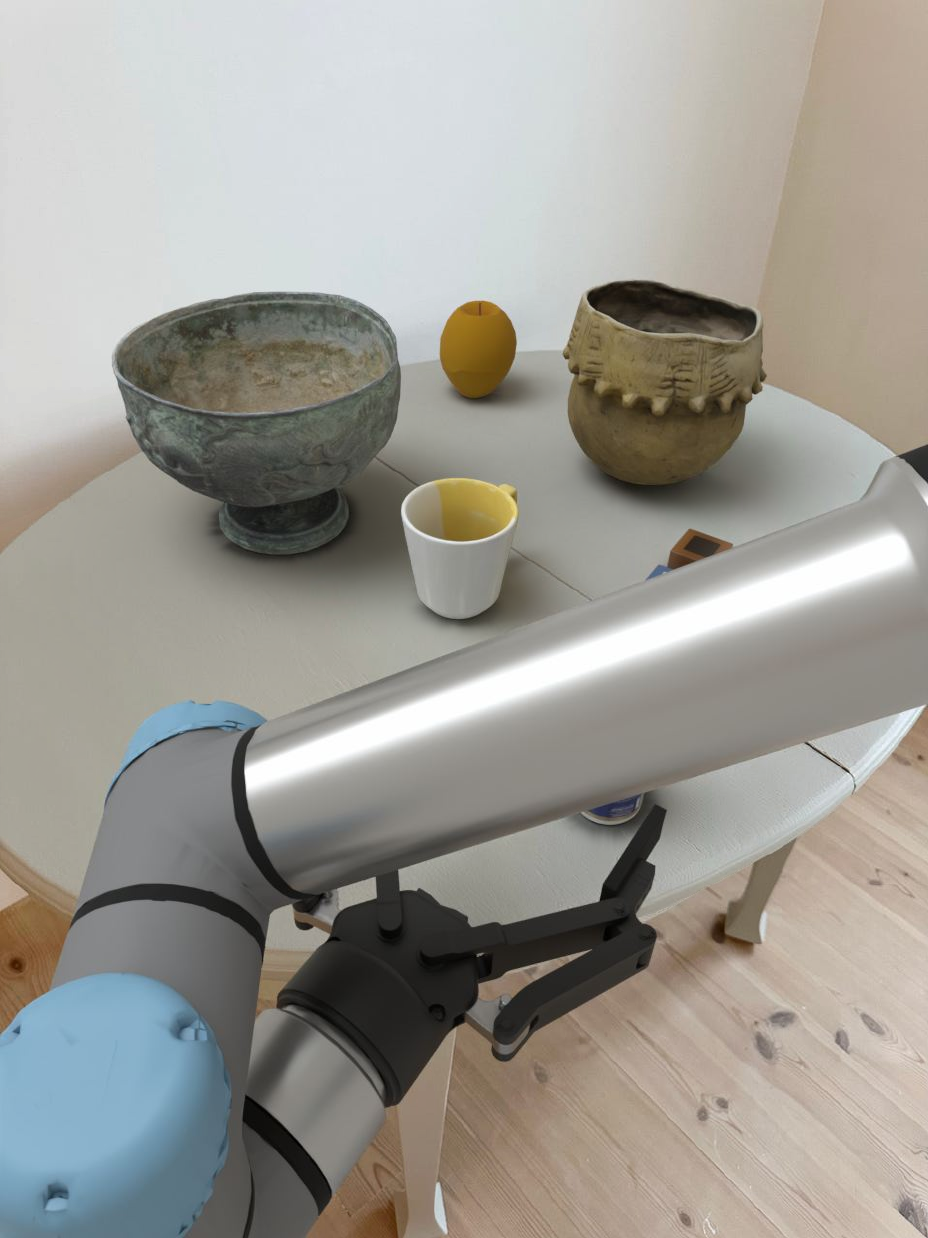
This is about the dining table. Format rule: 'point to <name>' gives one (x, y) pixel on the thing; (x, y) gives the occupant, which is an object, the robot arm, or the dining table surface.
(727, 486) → the dining table surface
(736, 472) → the dining table surface
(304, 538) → the decorative bowl
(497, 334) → the apple
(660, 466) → the clay pot
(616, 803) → the pill bottle
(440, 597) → the mug
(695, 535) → the oak end block
